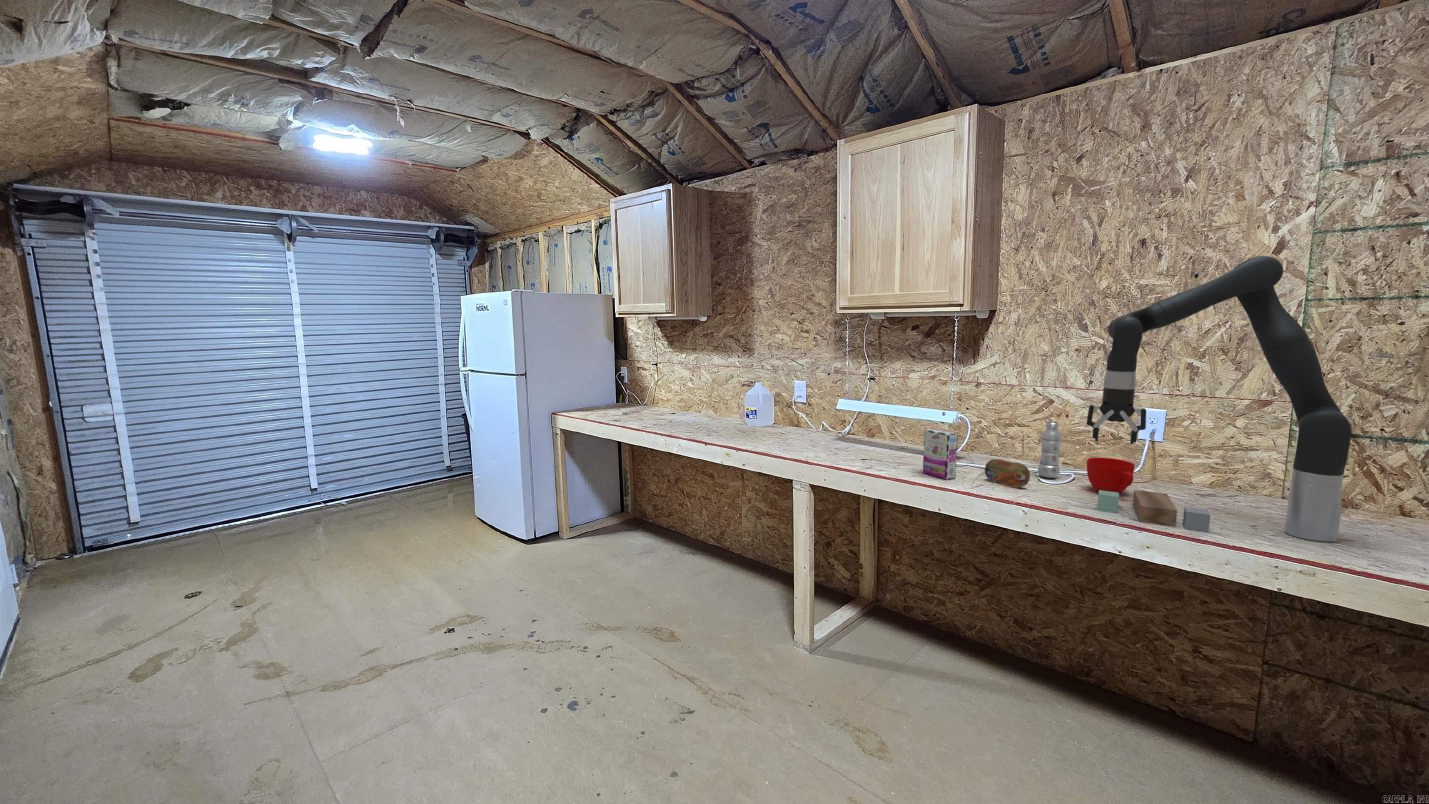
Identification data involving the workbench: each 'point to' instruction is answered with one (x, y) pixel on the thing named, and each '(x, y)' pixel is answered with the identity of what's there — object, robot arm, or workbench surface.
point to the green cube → (1108, 501)
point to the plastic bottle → (1050, 451)
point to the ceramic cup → (1110, 474)
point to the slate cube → (1196, 519)
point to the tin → (1007, 473)
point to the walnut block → (1154, 508)
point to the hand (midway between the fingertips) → (1113, 441)
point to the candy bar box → (940, 453)
